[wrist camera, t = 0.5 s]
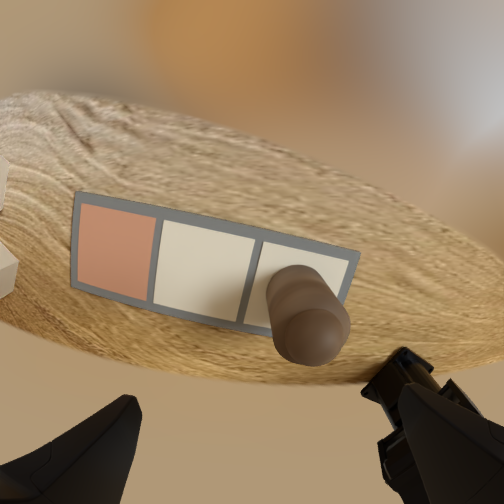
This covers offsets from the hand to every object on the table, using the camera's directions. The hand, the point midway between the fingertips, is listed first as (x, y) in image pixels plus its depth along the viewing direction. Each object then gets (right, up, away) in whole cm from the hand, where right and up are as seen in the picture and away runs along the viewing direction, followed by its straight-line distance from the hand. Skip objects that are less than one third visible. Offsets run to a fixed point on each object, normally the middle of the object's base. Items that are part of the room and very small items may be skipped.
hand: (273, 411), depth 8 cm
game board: (-4, +4, +12) cm, 13 cm away
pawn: (+2, +2, +12) cm, 13 cm away
